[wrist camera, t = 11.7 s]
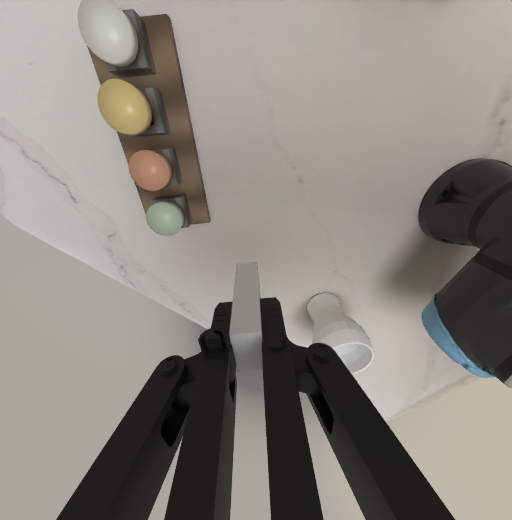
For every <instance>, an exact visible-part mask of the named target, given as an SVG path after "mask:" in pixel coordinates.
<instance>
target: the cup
mask: <svg viewBox="0 0 512 520" xmlns="http://www.w3.org/2000/svg"><path fill="white" fill-rule="evenodd" d="M307 310H308V313H309V315H310V316H311V318H312V319H313V322H314V329H313V338H312V344H314V343H324V344H327V345H329V346H331V347H332V348H333V349H334V350H335V352H336V353H337V354H338V356H339V357H340V359H341V360H342V361H343V363H344V364H345V366H346V367H347V368H348V370H349V371H350V373H351V374H356V373H358V372H361V371H362V370H364V369H365V368H367V367H368V366H369V365H370V364H371V362H372V361H373V358H374V352H373V348H372V345H371V342H370V339H369V337H368V336H367V334H366V332H365V331H364V329H363V328H362V326H360V325H359V324H358V323H357V322H356V321H355V320H353V319H352V318H350V317H349V316H347V315H345V314H344V313H343V311H342V310H341V307H340V303H339V301H338V299H337V297H336V296H334V295H333V294H330V293H321V294H318V295H316V296H314V297H313V298H312V299H310V301H309V302H308V304H307Z"/></svg>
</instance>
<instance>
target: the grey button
mask: <svg viewBox="0 0 512 520" xmlns="http://www.w3.org/2000/svg"><path fill="white" fill-rule="evenodd" d="M78 24H79V29H80V32H81V35H82V37H83V39H84V41H85V43H86V44H87V46H88V47H89V49H90V50H91V51H92V52H93V53H94V54H95V55H96V56H98V57H99V58H101V59H102V60H104V61H106V62H108V63H109V64H111V65H113V66H116V67H126V66H129V65H130V64H131V63H132V62H133V61H134V60H135V58H136V57H137V52H138V38H137V34H136V31H135V28H134V26H133V24H132V22H131V20H130V19H129V18H128V16H127V15H126V14H125V13H124V12H123V11H122V10H121V9H120V8H119V7H118V6H117V4H116V3H115V2H113V1H112V0H82V2H81V3H80V6H79V9H78Z"/></svg>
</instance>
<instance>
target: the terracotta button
mask: <svg viewBox="0 0 512 520" xmlns="http://www.w3.org/2000/svg"><path fill="white" fill-rule="evenodd" d="M129 172H130V174H131V177H132V178H133V180H134V181H135V182H136V183H137V184H138V185H139V186H140V187H142V188H143V189H146V190H149V191H157V190H160V189H161V188H163V187H165V186H167V185H168V184H169V182H170V181H171V178H172V169H171V166H170V163H169V162H168V160H167V159H166V158H165V157H164V156H163V155H162V154H161V153H159V152H157V151H154V150H141V151H138V152H136V153H134V154H133V155H132V156H131V158H130V161H129Z"/></svg>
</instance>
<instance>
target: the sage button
mask: <svg viewBox="0 0 512 520" xmlns="http://www.w3.org/2000/svg"><path fill="white" fill-rule="evenodd" d="M146 220H147V223H148V225H149V227H150V228H151V229H152V230H153V231H154V232H156V233H157V234H160V235H163V236H171V235H174V234H175V233H177V232H178V231H179V229H180V228H181V227H182V225H183V223H184V215H183V212H182V210H181V209H180V208H179V207H178V206H177V205H176V204H175V203H173V202H171V201H166V200H162V201H159V202H157V203H155V204H154V205H152V206H151V207H150V208H149V209H148V210H147V213H146Z"/></svg>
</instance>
